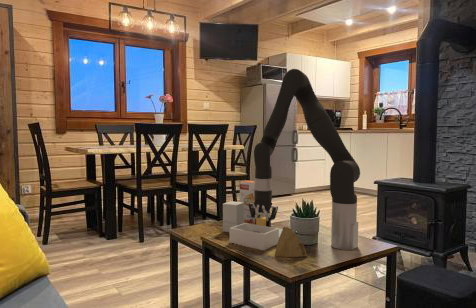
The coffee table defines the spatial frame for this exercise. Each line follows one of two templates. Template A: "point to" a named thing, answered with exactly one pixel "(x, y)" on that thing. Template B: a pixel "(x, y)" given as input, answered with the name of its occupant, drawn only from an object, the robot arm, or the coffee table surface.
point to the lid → (264, 223)
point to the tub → (254, 236)
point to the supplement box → (232, 215)
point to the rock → (289, 245)
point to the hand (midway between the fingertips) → (262, 228)
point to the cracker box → (248, 199)
